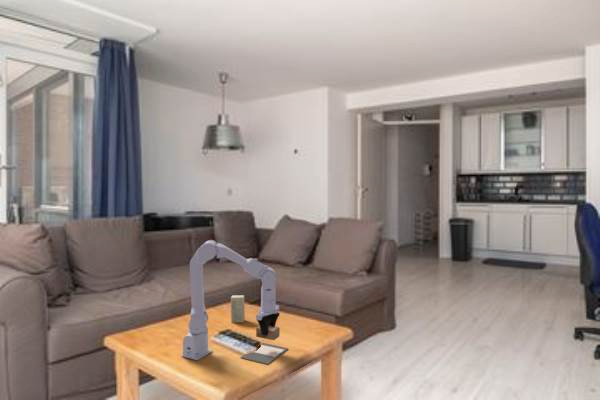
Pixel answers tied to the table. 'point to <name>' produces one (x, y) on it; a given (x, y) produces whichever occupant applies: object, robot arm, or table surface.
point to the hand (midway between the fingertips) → (267, 332)
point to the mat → (265, 354)
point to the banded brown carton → (272, 333)
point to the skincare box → (237, 308)
